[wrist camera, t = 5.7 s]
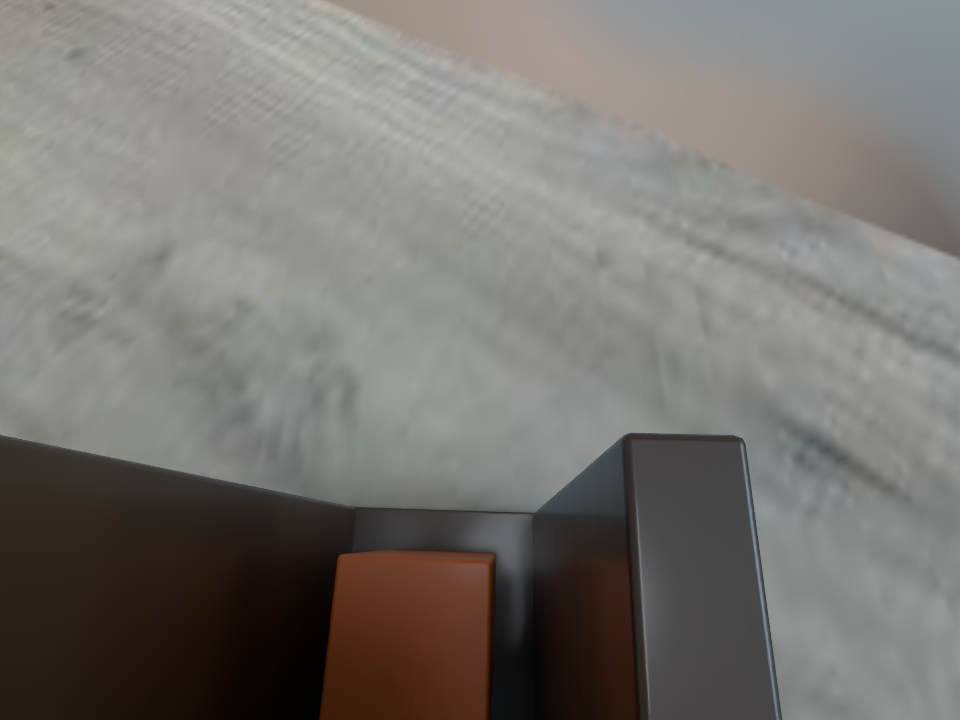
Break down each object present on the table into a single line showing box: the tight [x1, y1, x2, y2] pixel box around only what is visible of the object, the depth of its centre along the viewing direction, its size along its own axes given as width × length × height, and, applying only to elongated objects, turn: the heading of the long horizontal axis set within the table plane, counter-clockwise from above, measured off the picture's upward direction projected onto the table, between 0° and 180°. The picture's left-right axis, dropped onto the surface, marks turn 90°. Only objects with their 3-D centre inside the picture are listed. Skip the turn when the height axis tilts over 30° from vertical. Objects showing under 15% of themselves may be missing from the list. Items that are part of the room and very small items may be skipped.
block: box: [319, 549, 496, 720], centre depth 12 cm, size 3×3×5 cm
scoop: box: [0, 433, 782, 720], centre depth 8 cm, size 6×7×12 cm
